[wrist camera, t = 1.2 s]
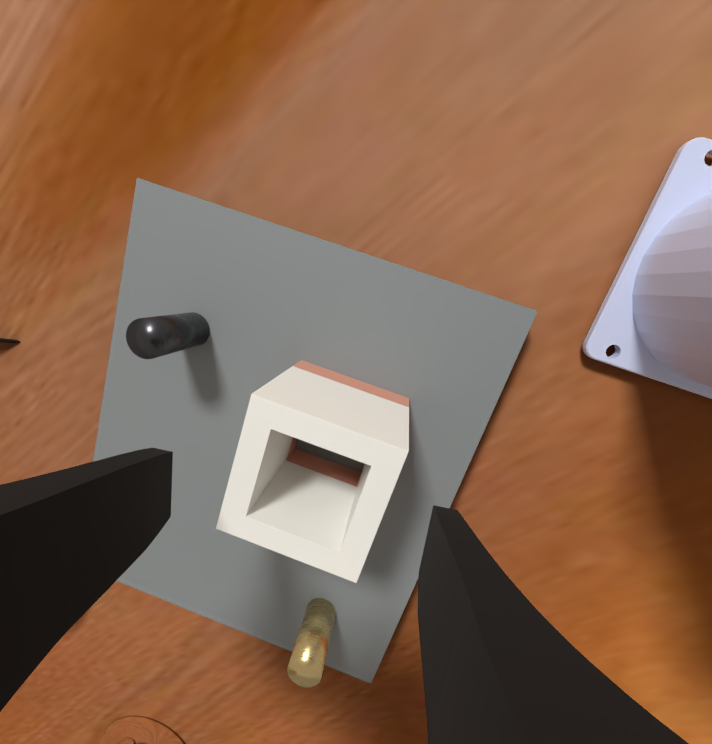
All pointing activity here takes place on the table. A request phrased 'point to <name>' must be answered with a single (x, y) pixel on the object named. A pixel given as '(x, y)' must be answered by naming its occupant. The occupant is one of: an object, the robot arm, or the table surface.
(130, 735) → the beer glass
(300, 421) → the sleeve
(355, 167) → the table surface
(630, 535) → the table surface
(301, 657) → the brass pin
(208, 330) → the black pin
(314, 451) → the pin board
